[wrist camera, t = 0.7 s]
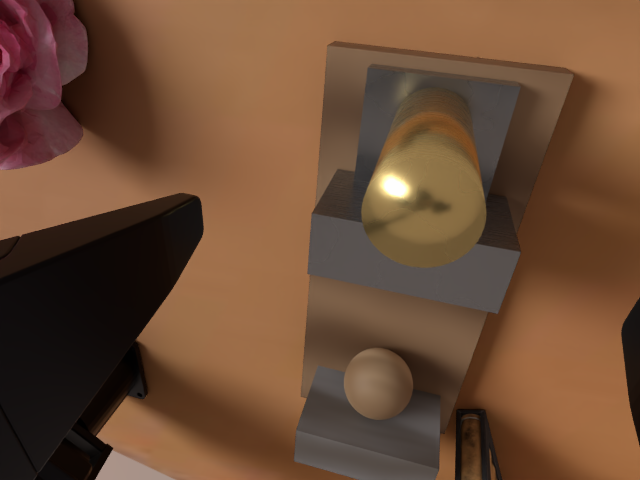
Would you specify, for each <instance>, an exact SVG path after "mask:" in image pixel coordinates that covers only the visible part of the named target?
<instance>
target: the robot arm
mask: <svg viewBox="0 0 640 480" xmlns="http://www.w3.org/2000/svg"><path fill="white" fill-rule="evenodd" d="M203 230H204V226H203V216H202V205H201V201H200V199H199V197H198V196H195V195H190V194H186V193H178V194H175V195H171V196H167V197H163V198H160V199H156V200H152V201H148V202H144V203H141V204H137V205H133V206H129V207H125V208H122V209H118V210H114V211H110V212H107V213H103V214H99V215H95V216H91V217H88V218H84V219H80V220H76V221H73V222H69V223H65V224H61V225H57V226H54V227H50V228H46V229H42V230H39V231H35V232H31V233H27V234H23V235H22V236H21V237H20V236H16V237H12V238H8V239H4V240H0V480H95V479H96V477H97V475H98V473H99V471H100V470H101V468H102V466H103V465H104V463H105V461H106V460H107V458H108V456H109V455H110V453H111V451H112V450H113V448H112V447H111V446H110V445H109V444H105V443H104V442H102V441H101V440H100V439H98V438H97V437H96V435H97V434H98V433H99V432H100V430H101V429H102V428H103V426H104V425H105V424H106V422H107V421H108V420H109V419H110V417H111V416H112V415H113V413H114V412H115V411H116V409H117V408H118V407H119V405H120V404H121V403H122V402H123V400H124V399H125V398H126V396H127V395H129V396H132V397H136V398H139V399H144V398H145V397H146V396H147V394H148V392H147V387H146V382H145V377H144V372H143V367H142V362H141V357H140V352H139V347H138V345H137V343H135V342H134V341H135V340H136V339H137V337H138V336H139V334H140V333H141V332H142V330H143V329H144V328H145V326H146V325H147V324H148V322H149V321H150V319H151V318H152V317H153V315H154V314H155V313H156V311H157V310H158V308H159V307H160V306H161V304H162V303H163V302H164V300H165V299H166V297H167V296H168V295H169V293H170V292H171V290H172V289H173V287H174V285H175V284H176V282H177V281H178V279H179V277H180V275H181V273H182V272H183V270H184V268H185V266H186V265H187V263H188V261H189V259H190V258H191V256H192V254H193V252H194V250H195V249H196V247H197V245H198V243H199V242H200V240H201V238H202V235H203ZM621 335H622V344H623V353H624V362H625V370H626V379H627V387H628V395H629V402H630V408H631V412H632V417H633V421H634V425H635V429H636V433H637V437H638V441H639V445H640V297H639V299H638V301H637V302H636V304H635V305H634V307H633V309H632V310H631V312H630V313H629V315H628V317H627V318H626V320H625V321H624V323H623V326H622V332H621Z"/></svg>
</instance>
